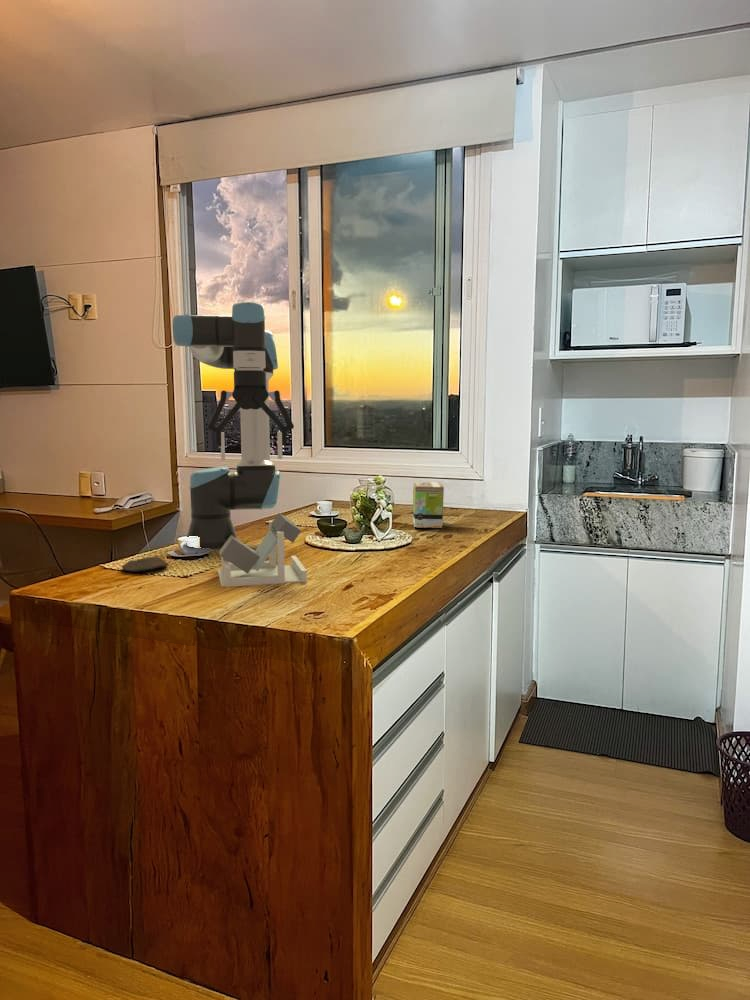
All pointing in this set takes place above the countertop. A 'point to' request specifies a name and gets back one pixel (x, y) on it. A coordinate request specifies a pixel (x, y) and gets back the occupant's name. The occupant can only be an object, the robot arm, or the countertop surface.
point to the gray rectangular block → (239, 554)
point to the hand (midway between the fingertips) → (251, 459)
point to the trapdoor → (271, 539)
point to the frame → (264, 569)
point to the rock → (145, 564)
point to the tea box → (428, 504)
